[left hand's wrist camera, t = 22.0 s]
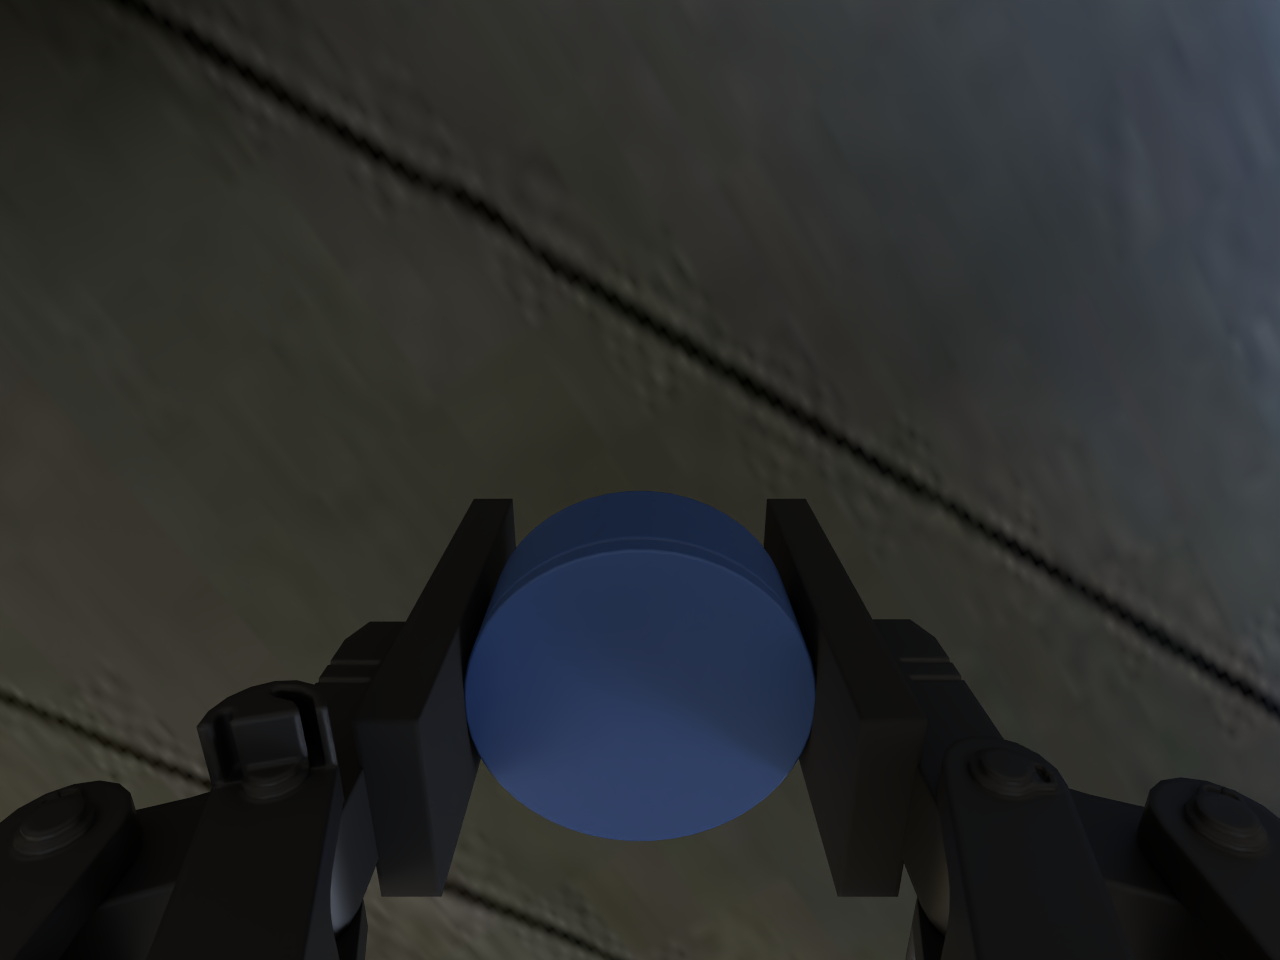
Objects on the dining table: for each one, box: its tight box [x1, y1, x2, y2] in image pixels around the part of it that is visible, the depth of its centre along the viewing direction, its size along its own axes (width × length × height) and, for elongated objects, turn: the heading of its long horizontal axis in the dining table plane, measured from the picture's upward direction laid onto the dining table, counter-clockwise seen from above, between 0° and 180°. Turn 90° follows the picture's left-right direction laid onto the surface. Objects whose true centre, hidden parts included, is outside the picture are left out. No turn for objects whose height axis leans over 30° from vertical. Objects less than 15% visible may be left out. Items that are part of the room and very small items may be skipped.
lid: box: [464, 491, 816, 841], centre depth 11 cm, size 5×5×2 cm
